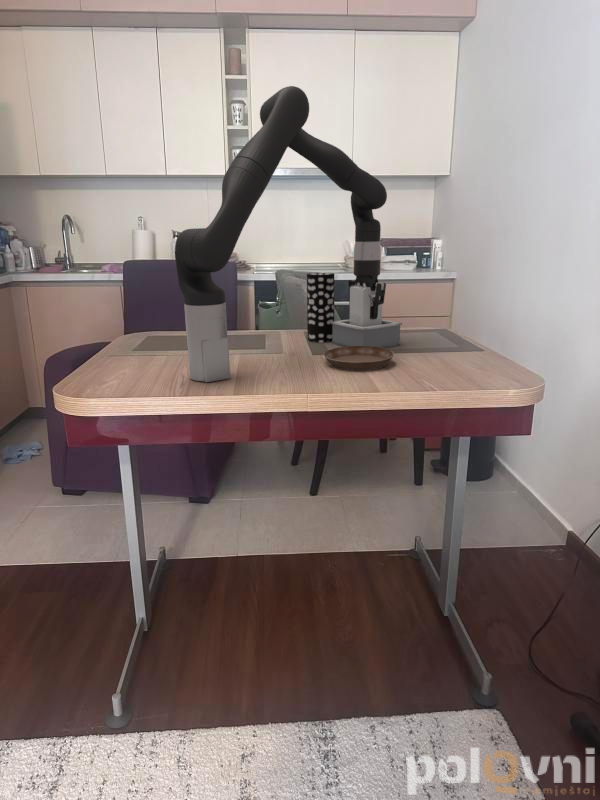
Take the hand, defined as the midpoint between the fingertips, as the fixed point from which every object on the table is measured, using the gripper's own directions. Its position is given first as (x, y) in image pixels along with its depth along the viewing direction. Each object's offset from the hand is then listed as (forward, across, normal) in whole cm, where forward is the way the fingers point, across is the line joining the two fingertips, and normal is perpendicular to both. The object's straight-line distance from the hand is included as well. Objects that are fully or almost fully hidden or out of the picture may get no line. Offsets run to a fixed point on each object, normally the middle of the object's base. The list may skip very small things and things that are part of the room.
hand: (365, 317), depth 156 cm
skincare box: (+6, 0, 0) cm, 6 cm away
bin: (+8, 0, 0) cm, 8 cm away
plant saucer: (+8, -17, +17) cm, 25 cm away
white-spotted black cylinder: (+8, +14, +6) cm, 17 cm away
